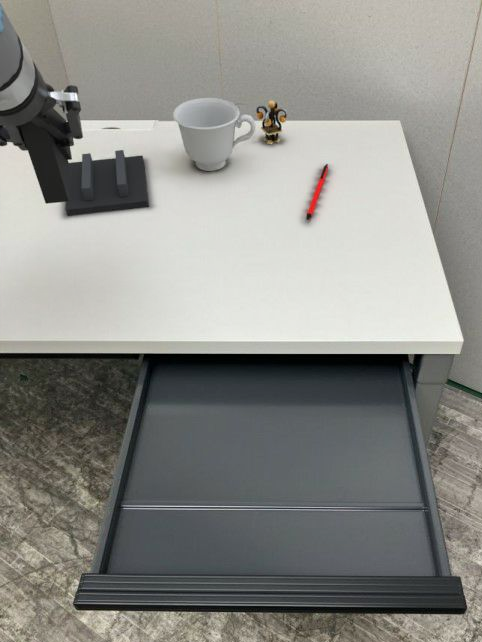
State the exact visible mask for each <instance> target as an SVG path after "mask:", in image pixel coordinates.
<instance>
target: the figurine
mask: <svg viewBox="0 0 482 642" xmlns="http://www.w3.org/2000/svg"><path fill="white" fill-rule="evenodd" d="M267 105H268V108H269V109H270V110H268V109H267V107H266V106H265V105H262V104H259V105H257V106H256V108H255V112H256V118H257V119H258V120H262V119H263V118H264V119H263V120H262V122H261V125H262V126H260V129H261V131H262V132H264V133H265V137H264V138H263V141H266V144H268V145H272V144H274V143H278V144H279V142H280V141H281V139H280V138H279V133H283V132H284V130H283V129H282V124H284V123H286V122H287V118H288V110H287V109H285V108H281V107H280V108H278V102H277V101H274V100H269V101H268V103H267ZM260 109H263V111H264V112H265V117H264V113H263V111H259V110H260ZM280 112H283V113H284V114H281V115H280V116H279V113H280Z"/></svg>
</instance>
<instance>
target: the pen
mask: <svg viewBox="0 0 482 642" xmlns="http://www.w3.org/2000/svg"><path fill="white" fill-rule="evenodd" d="M328 166H329V164H328V163H326V164H325V165H324V166H323V168H322V170H321V174H320V177H319V179H318V182H317V185H316V188H315V191H314V193H313V196H312V199H311V202H310V204H309V208H308V210H307V212H306V222H309V220H310V219H311V218H312V216H313V213H314V211H315V208H316V204H317V201H318V200H319V196H320V193H321V190H322V187H323V184H324V183H325V182H324V181H325V179H326V176H327V173H328V170H329V167H328Z"/></svg>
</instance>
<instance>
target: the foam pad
mask: <svg viewBox="0 0 482 642" xmlns="http://www.w3.org/2000/svg"><path fill="white" fill-rule="evenodd" d="M19 126H20V129H21V132H22V135H23V138H24V141H25V144H26V147H27V150H26V151H27V152H28V155H29V156H28V157H29V158H30V161H31V165H32V167H33V171H34V173H35V176H36V179H37V183H38V186H39V188H40V191H41V195H42V197H43V200H44V203H45V204H46V205H47V204H56V203H66V202H67V201H69V191H70V176H71V169H70V166H69V163H70V162H69V160H66V158H65V157H64V156H63V154H62V153H61V151H60V150H59V149H58V147H57V146H56V144H55V138H54V136H53V135H52V134H51V133H49V132H48V131H47V130H46V129H45V128H43V127H38V126H36V125H35V124H34V123H33V122H32V121H31V122H27V123H25V124H22V125H19Z"/></svg>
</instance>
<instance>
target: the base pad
mask: <svg viewBox="0 0 482 642" xmlns="http://www.w3.org/2000/svg"><path fill="white" fill-rule="evenodd" d="M114 152H115V153H114V154H115V155H114V156H115V157H113V158H104V159H103V158H102V159H93V158H92V155H91V154H92V153H91V152H88V153H81V161H73V162H69V166H70V169H71V176H70V191H69V201H67V202H65V213H66V215H67V217H69V216H77V215H85V214H95V213H105V212H113V211H122V210H129V209H130V210H131V209H140V208H149V207H150V204H149V203H150V202H149V196H148V194H149V193H148V187H147V186H148V185H147V179H146V178H147V177H146V170H145V161H144V160H145V159H144V156H143V155H142V154H141V155H134V156H126V155H125V152H124V149H120V150H119V149H118V150H115V151H114Z"/></svg>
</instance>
